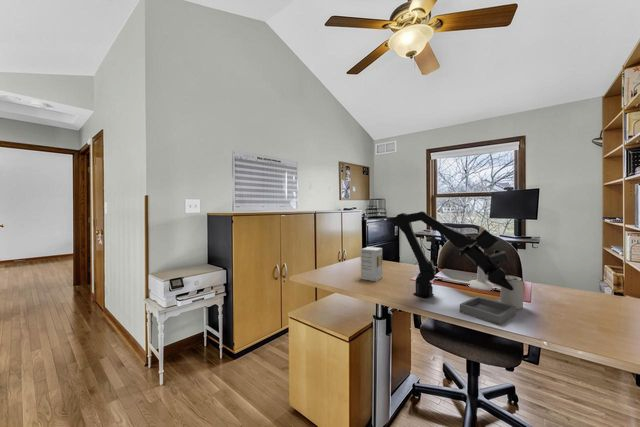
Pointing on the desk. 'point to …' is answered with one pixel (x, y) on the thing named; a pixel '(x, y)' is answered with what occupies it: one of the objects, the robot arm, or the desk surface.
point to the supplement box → (371, 263)
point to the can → (513, 292)
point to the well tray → (488, 310)
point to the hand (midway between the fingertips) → (510, 286)
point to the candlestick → (481, 277)
